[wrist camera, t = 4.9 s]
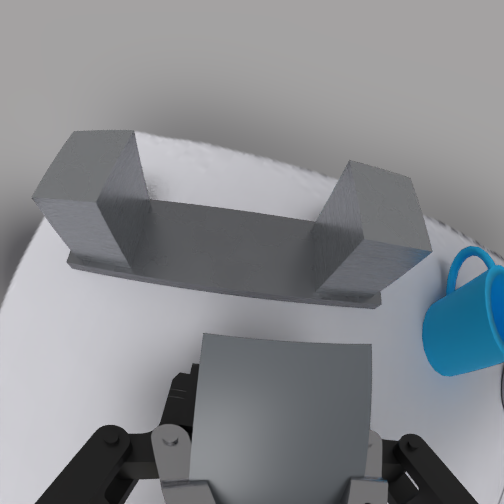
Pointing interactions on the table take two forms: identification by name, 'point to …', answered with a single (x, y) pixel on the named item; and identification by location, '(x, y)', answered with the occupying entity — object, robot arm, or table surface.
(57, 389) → the table surface
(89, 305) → the table surface
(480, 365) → the mug
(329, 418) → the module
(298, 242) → the rail
